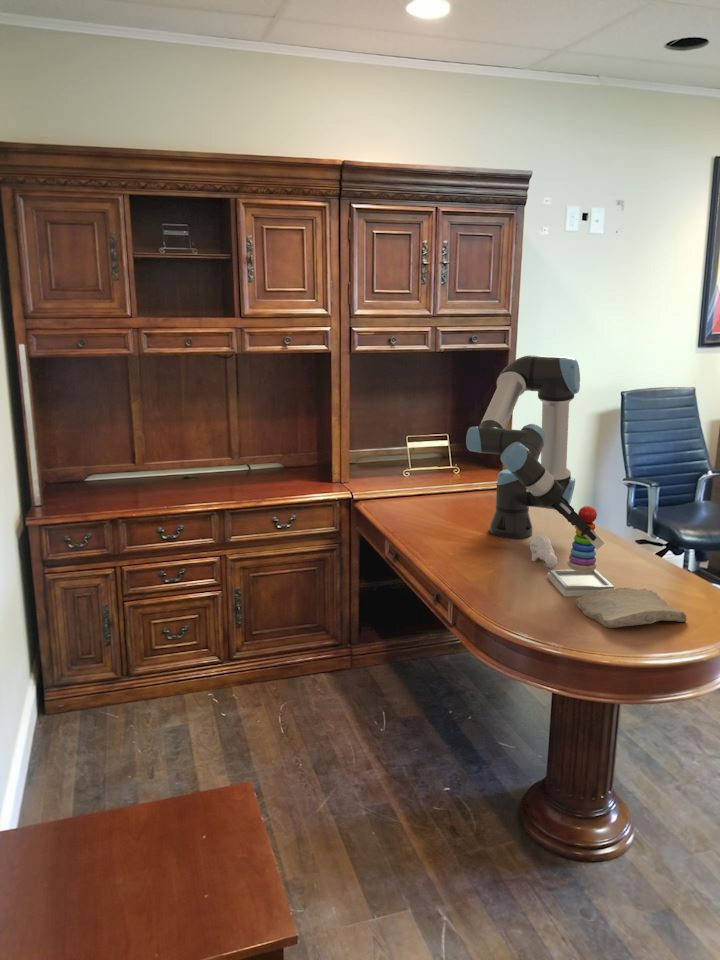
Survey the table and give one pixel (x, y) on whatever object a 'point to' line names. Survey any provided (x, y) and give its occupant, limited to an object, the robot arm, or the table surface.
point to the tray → (578, 582)
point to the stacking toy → (583, 544)
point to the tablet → (627, 607)
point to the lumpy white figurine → (543, 550)
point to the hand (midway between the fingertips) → (596, 542)
